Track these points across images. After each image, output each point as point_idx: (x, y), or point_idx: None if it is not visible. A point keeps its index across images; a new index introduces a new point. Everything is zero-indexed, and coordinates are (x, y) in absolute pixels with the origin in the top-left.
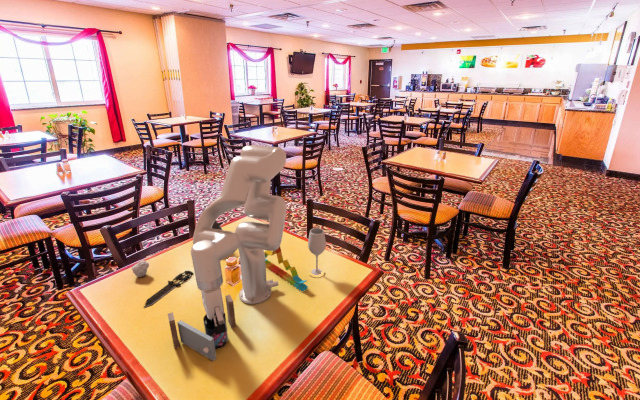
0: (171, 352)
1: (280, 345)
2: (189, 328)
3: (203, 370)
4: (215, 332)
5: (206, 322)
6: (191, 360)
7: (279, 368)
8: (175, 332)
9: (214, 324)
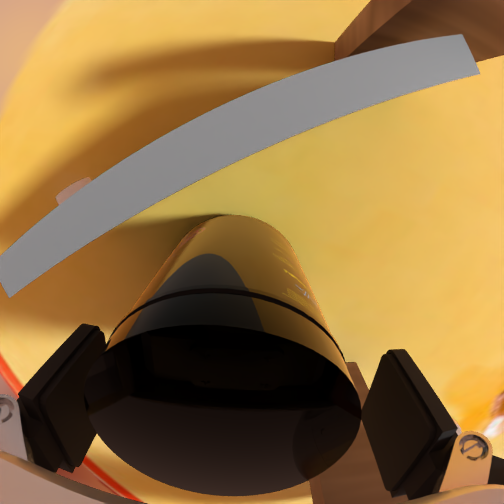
0: (315, 22)
1: (101, 439)
2: (287, 88)
3: (79, 150)
4: (68, 339)
5: (154, 347)
6: (179, 99)
7: (21, 389)
8: (382, 13)
9: (35, 405)
